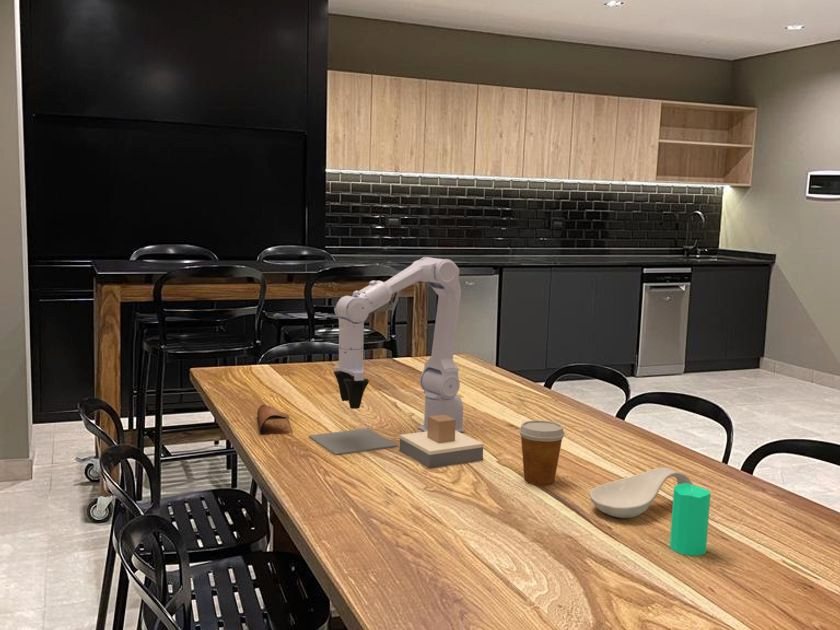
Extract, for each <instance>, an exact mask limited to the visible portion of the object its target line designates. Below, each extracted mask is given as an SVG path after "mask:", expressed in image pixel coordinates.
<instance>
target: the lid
mask: <svg viewBox="0 0 840 630" xmlns="http://www.w3.org/2000/svg"><path fill="white" fill-rule="evenodd" d="M455 425H456V420H455V419H453V418H451V417H449V416H446V415H436V416H428V431H426V432H424V431H420V432H413V433H405V434H399V440H400V439H402V440H404V441H406V442H407V443H409V444H411V445H413V446H415V447H416V448H418V449H420V450H422V451H424V452H425V453H427V454H429V455H433V454H440V453H447V452H453V451H460V450H467V449H474V448H481V447H483V448H484V443H483V442H481V441H479V440H477V439H474V438H473V437H470V436H468V435H466V434H464V433H462V432H458V431H456V430H455Z"/></svg>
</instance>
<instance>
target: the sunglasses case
mask: <svg viewBox="0 0 840 630" xmlns="http://www.w3.org/2000/svg"><path fill="white" fill-rule="evenodd" d="M256 414H257V415H256V416H257V420H258V421H257V422H258V427H259V432H260V434H261V435H262V436H269V435H270V434H274V435H287V434H289V433H290V434H291V435H292V434H293V429H292V426H291V423H290V420H289V417H290V415H289V414H288V413H286V412H282V411H280V410H278V409H276V408H275V407H274V406H270V405H268V404H262V405H260V406H259V407H258V409H257V413H256Z"/></svg>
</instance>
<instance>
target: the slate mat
mask: <svg viewBox="0 0 840 630" xmlns="http://www.w3.org/2000/svg"><path fill="white" fill-rule="evenodd" d="M308 438H309V439H311V440H312V441H313V442H314V443H317V445H319V446H321V447H323V448H324V449H325V450H327V451H328V452H330V453H331V454H333V455H334V456H339V455H346V454H354V453H355V454H356V453H362V452H368V451H376V450H384V449H391V448H397V447H398V444H397V443H395V442H392V441H391V440H389V439H388V438H386V437H384V436H383V435H381V434H379V433H377V432H375V431H374V430H371V429H370V428H369V427H368V428H367V427H366V428H358V429H351V430H342V431H341V430H340V431H335V432H327V433H318V434H311V435H308Z"/></svg>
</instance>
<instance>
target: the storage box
mask: <svg viewBox="0 0 840 630" xmlns="http://www.w3.org/2000/svg"><path fill="white" fill-rule="evenodd" d="M399 451H400V452H401V453H402V454H404V455H405V456H408V457H410V459H413V460H415V461H417V462H418V463H419V464H422V465H423V466H426V467H427V468H428V469H433V468H438V467H439V468H440V467H446V466H451V465H453V466H454V465H458V464H459V465H460V464H464V463H465V464H466V463H471V462H478V461H483V460H484V458H483V457H484V446H483V447H481V448H474V449H467V450H460V451H453V452H447V453H440V454H433V455H429V454H427V453H425V452H424V451H422V450H420V449H418V448H416V447H415V446H413V445H411V444H409V443H407V442H406V441H404V440H402V439H400V438H399Z"/></svg>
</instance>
